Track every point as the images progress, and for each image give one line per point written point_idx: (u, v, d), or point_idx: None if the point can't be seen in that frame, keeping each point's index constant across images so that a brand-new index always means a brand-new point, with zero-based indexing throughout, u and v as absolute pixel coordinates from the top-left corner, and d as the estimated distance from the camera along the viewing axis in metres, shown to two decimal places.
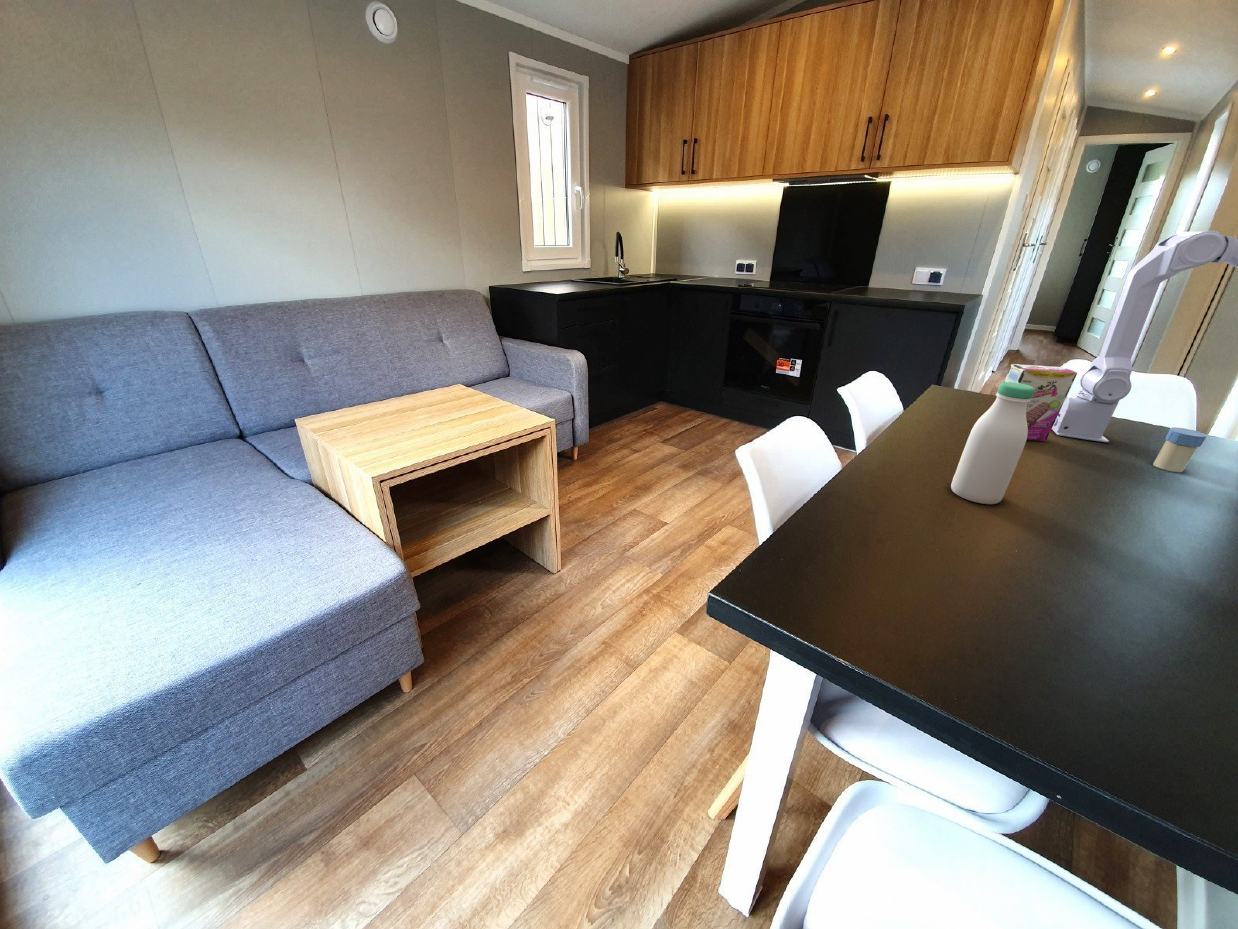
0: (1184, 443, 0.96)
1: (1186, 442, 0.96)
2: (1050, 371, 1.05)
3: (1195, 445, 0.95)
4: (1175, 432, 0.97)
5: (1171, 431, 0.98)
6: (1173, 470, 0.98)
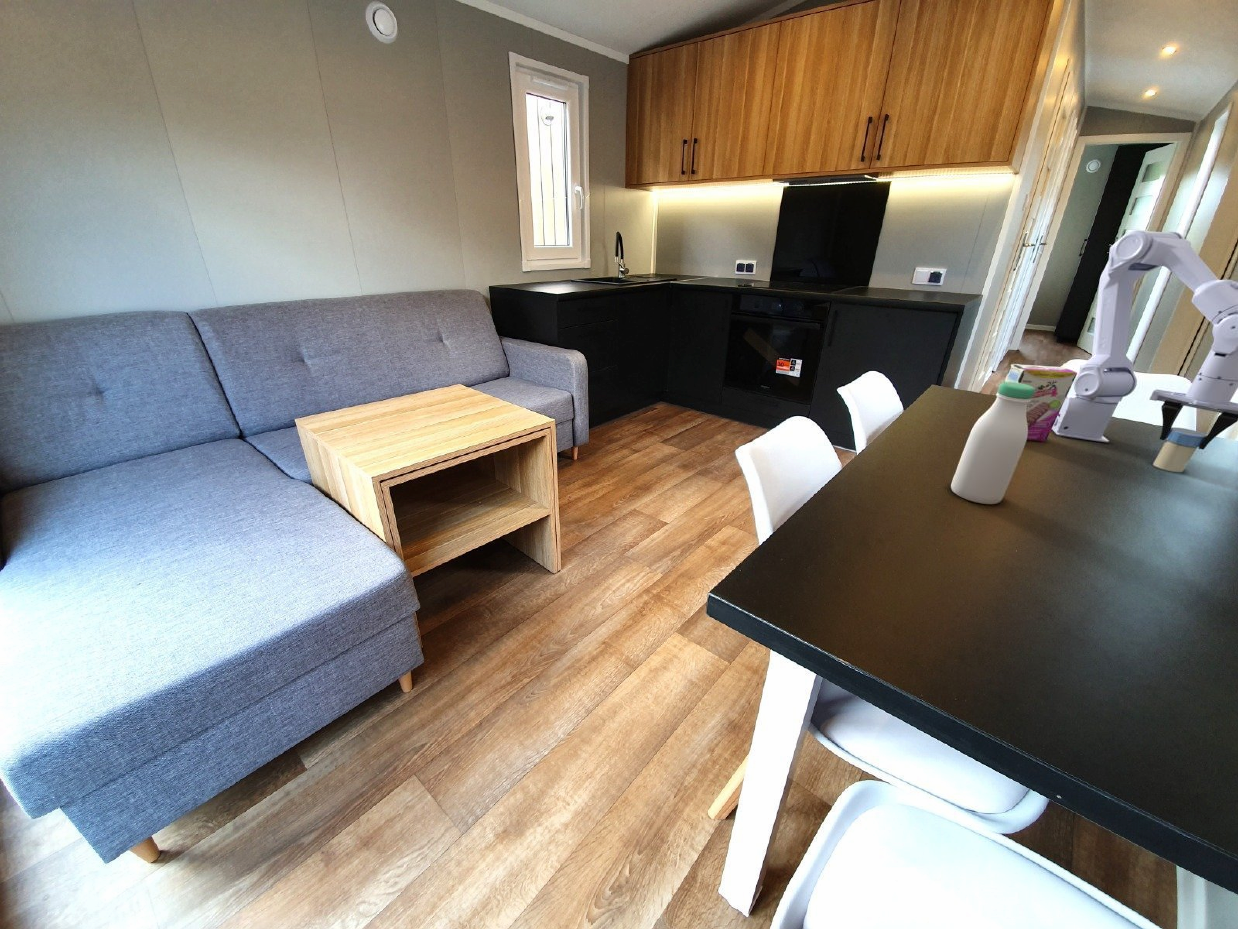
0: (1184, 443, 0.96)
1: (1186, 442, 0.96)
2: (1050, 371, 1.05)
3: (1195, 445, 0.95)
4: (1175, 432, 0.97)
5: (1171, 431, 0.98)
6: (1173, 470, 0.98)
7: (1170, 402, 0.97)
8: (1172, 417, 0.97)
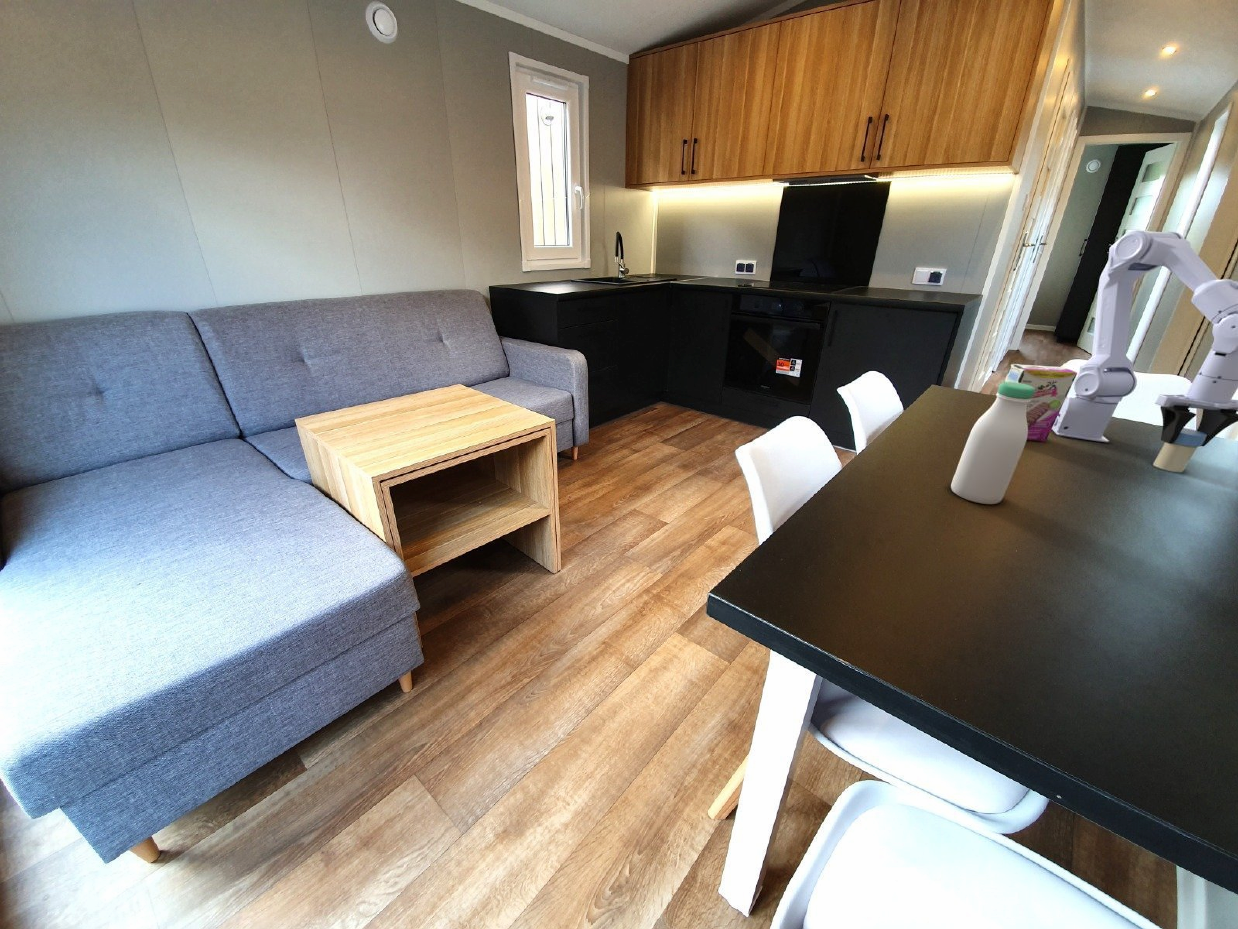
0: (1197, 444, 0.95)
1: (1198, 443, 0.95)
2: (1050, 371, 1.05)
3: None
4: (1188, 435, 0.95)
5: (1182, 434, 0.96)
6: (1173, 470, 0.98)
7: (1180, 406, 0.95)
8: (1187, 421, 0.94)
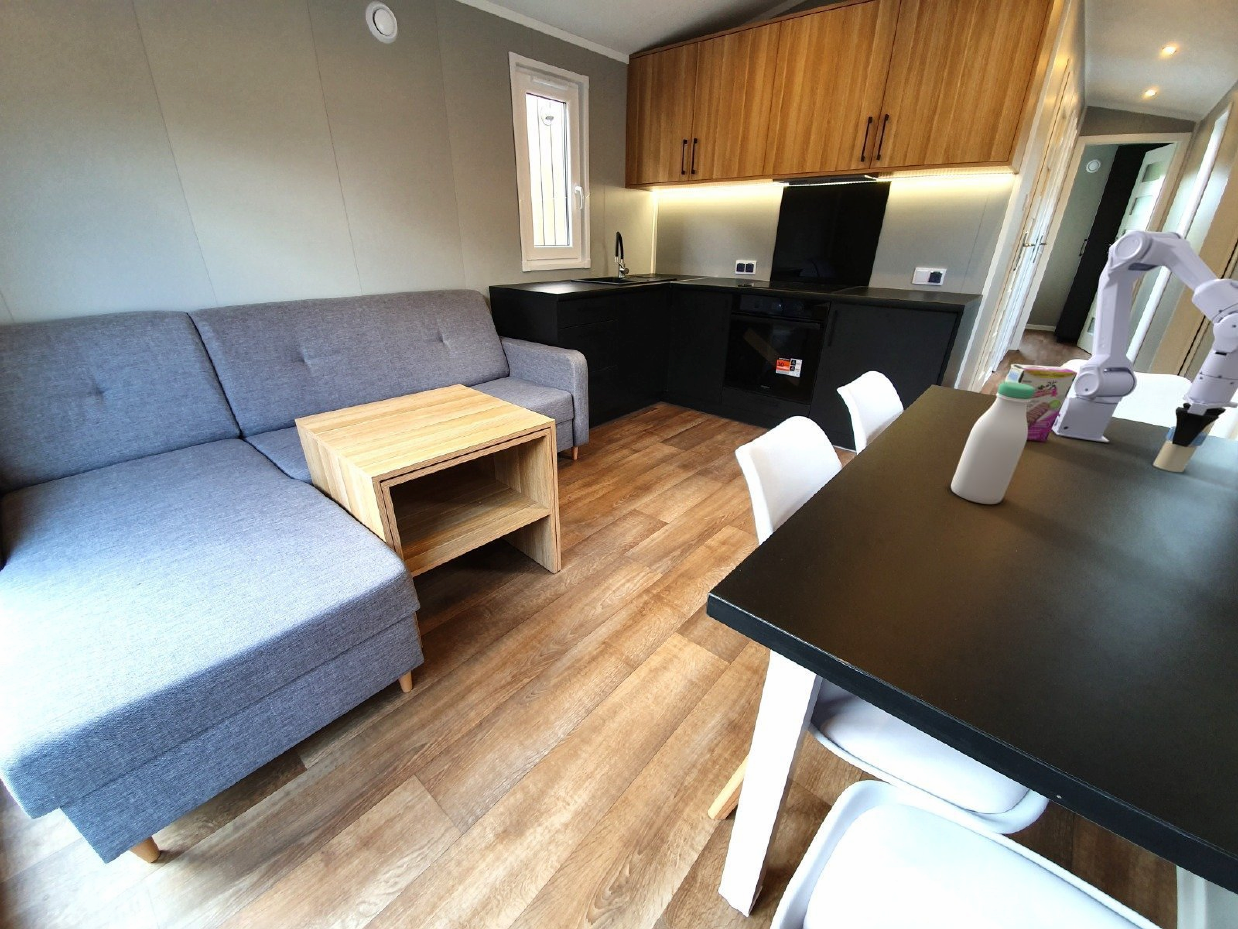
0: (1202, 442, 0.96)
1: None
2: (1050, 371, 1.05)
3: None
4: (1202, 436, 0.95)
5: None
6: (1173, 470, 0.98)
7: (1204, 411, 0.92)
8: None
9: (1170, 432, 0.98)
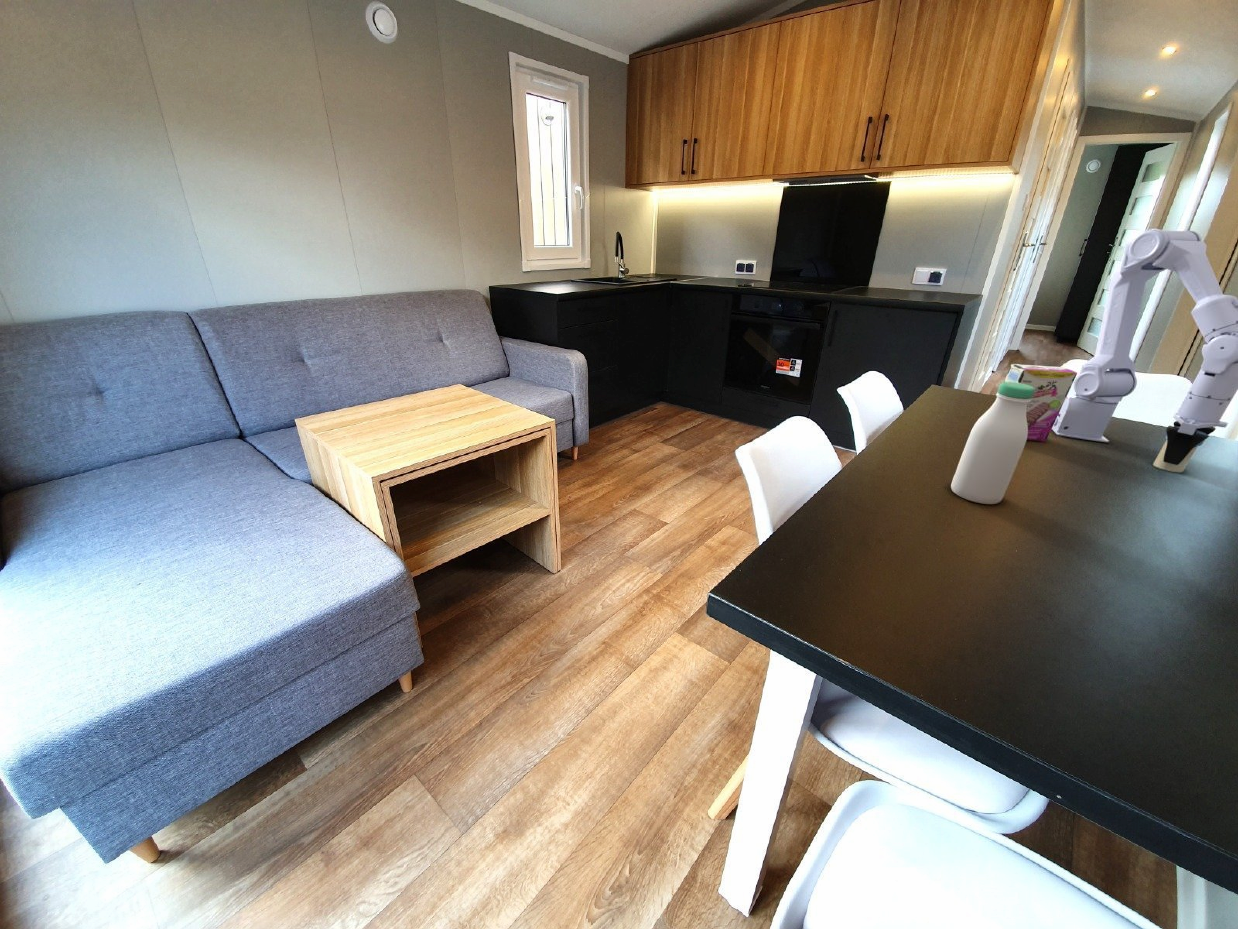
0: (1202, 443, 0.96)
1: (1202, 441, 0.96)
2: (1050, 371, 1.05)
3: None
4: None
5: None
6: (1173, 470, 0.98)
7: None
8: None
9: None
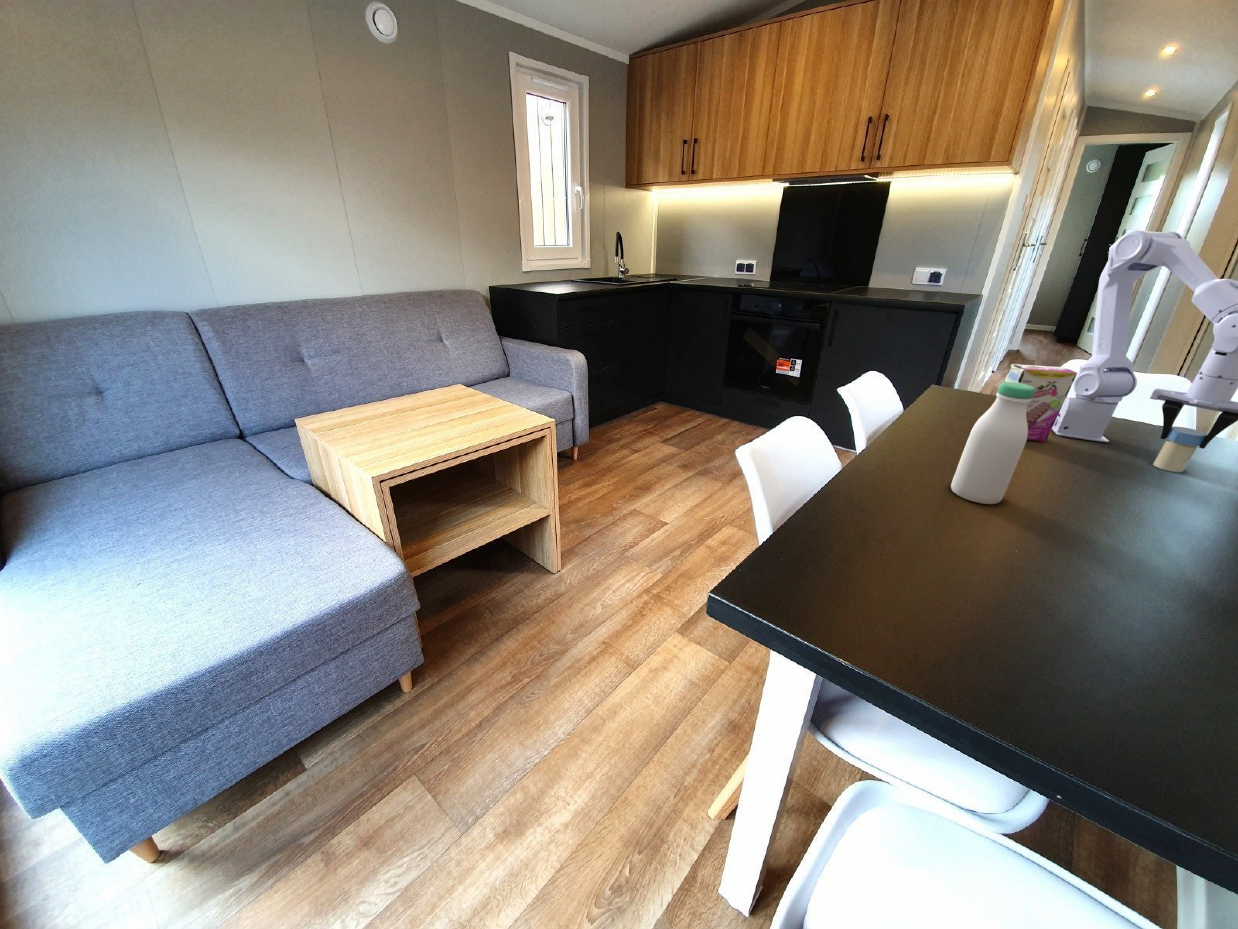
0: None
1: None
2: (1050, 371, 1.05)
3: None
4: (1200, 436, 0.95)
5: (1194, 436, 0.95)
6: (1173, 470, 0.98)
7: (1171, 401, 0.97)
8: (1173, 416, 0.97)
9: (1169, 432, 0.98)
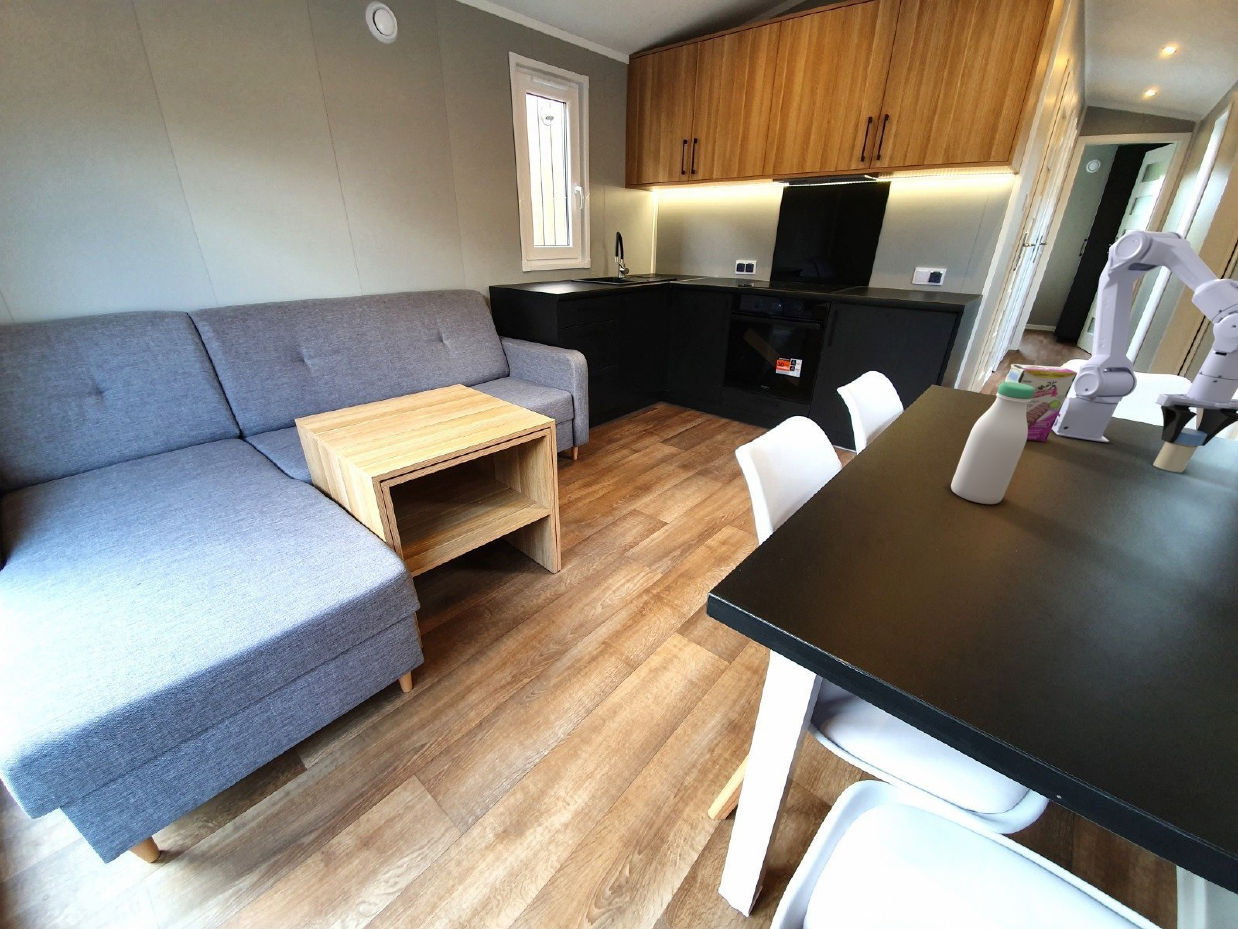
0: None
1: None
2: (1050, 371, 1.05)
3: None
4: (1206, 435, 0.95)
5: (1204, 437, 0.95)
6: (1173, 470, 0.98)
7: (1180, 406, 0.95)
8: (1188, 421, 0.94)
9: None
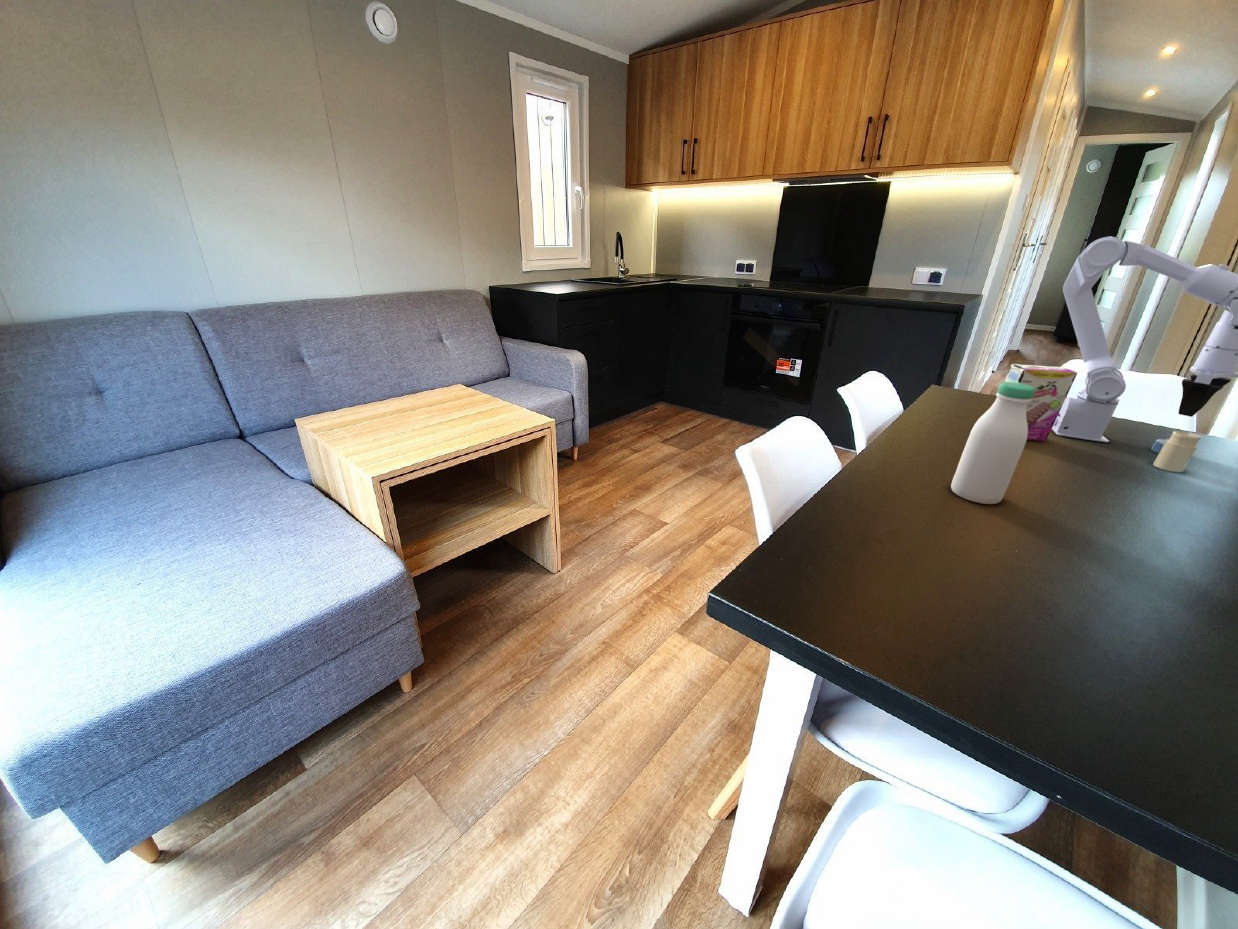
0: None
1: None
2: (1050, 371, 1.05)
3: None
4: None
5: None
6: (1173, 470, 0.98)
7: None
8: None
9: None
